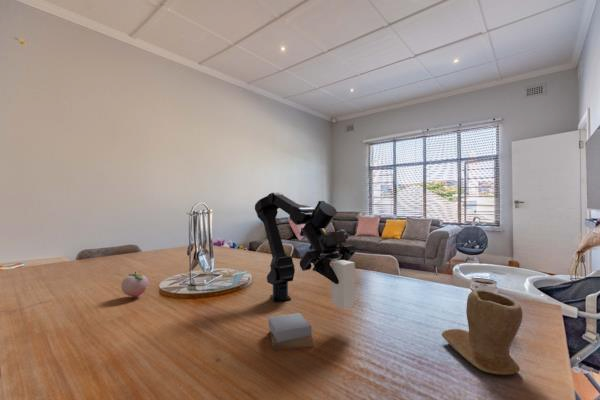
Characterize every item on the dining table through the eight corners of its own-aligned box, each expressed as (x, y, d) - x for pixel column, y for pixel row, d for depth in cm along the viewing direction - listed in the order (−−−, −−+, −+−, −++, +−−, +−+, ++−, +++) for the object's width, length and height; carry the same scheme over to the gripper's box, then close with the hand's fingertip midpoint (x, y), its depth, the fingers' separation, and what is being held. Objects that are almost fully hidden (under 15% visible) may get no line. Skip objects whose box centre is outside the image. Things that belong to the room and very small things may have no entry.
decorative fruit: (115, 300, 103) (115, 273, 104) (136, 293, 111) (135, 268, 111) (133, 303, 100) (132, 275, 100) (152, 296, 108) (152, 270, 108)
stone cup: (539, 379, 54) (537, 303, 54) (479, 380, 54) (478, 304, 54) (487, 341, 69) (485, 281, 70) (440, 341, 69) (439, 282, 70)
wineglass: (490, 329, 76) (489, 285, 76) (465, 320, 82) (464, 279, 82) (503, 323, 79) (502, 282, 79) (479, 315, 85) (478, 276, 85)
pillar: (331, 304, 77) (331, 261, 77) (343, 300, 80) (342, 259, 80) (343, 309, 74) (343, 264, 74) (355, 305, 76) (354, 262, 76)
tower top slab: (268, 326, 75) (268, 317, 75) (299, 321, 78) (299, 312, 78) (277, 342, 67) (277, 331, 67) (311, 335, 70) (311, 325, 70)
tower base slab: (270, 333, 76) (270, 324, 77) (305, 330, 78) (305, 321, 78) (272, 353, 67) (272, 342, 67) (313, 348, 68) (312, 338, 68)
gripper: (305, 222, 75) (334, 270, 66) (351, 219, 87) (381, 260, 78) (289, 247, 81) (313, 294, 73) (334, 241, 93) (360, 281, 84)
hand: (344, 281), depth 77 cm, fingers closed on pillar, 5 cm apart
